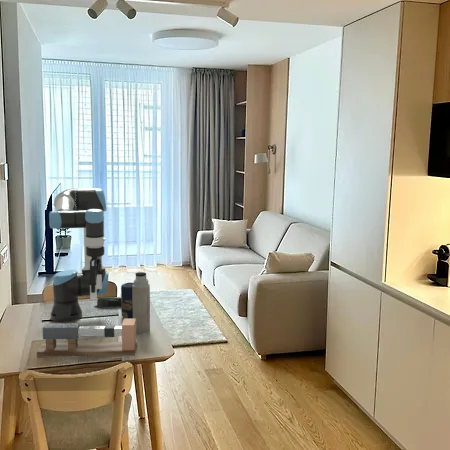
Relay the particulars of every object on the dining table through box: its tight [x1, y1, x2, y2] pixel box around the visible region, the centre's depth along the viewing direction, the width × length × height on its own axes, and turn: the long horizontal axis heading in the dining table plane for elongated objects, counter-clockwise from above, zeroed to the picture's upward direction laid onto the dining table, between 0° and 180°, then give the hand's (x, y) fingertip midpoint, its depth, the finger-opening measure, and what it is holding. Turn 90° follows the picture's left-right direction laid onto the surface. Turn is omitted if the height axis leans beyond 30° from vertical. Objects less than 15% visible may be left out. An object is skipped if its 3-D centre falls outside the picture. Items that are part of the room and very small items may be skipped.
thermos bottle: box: [132, 271, 151, 335], centre depth 239 cm, size 8×8×28 cm
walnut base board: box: [36, 338, 139, 358], centre depth 216 cm, size 10×40×6 cm, turn 94°
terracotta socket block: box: [121, 318, 137, 350], centre depth 217 cm, size 8×5×11 cm, turn 4°
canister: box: [120, 282, 134, 319], centre depth 258 cm, size 10×10×18 cm
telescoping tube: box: [77, 324, 122, 338], centre depth 216 cm, size 4×30×4 cm, turn 94°
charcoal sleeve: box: [42, 322, 81, 340], centre depth 215 cm, size 5×14×5 cm, turn 94°
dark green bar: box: [94, 296, 121, 308], centre depth 274 cm, size 5×3×15 cm
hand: (96, 294), depth 220 cm, fingers open, 13 cm apart
